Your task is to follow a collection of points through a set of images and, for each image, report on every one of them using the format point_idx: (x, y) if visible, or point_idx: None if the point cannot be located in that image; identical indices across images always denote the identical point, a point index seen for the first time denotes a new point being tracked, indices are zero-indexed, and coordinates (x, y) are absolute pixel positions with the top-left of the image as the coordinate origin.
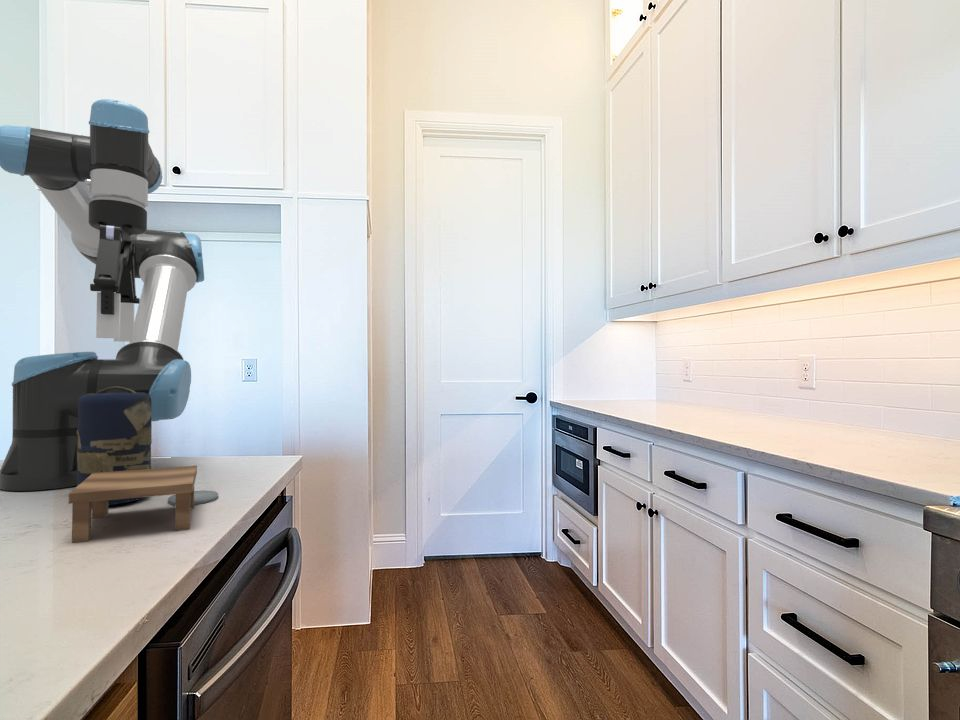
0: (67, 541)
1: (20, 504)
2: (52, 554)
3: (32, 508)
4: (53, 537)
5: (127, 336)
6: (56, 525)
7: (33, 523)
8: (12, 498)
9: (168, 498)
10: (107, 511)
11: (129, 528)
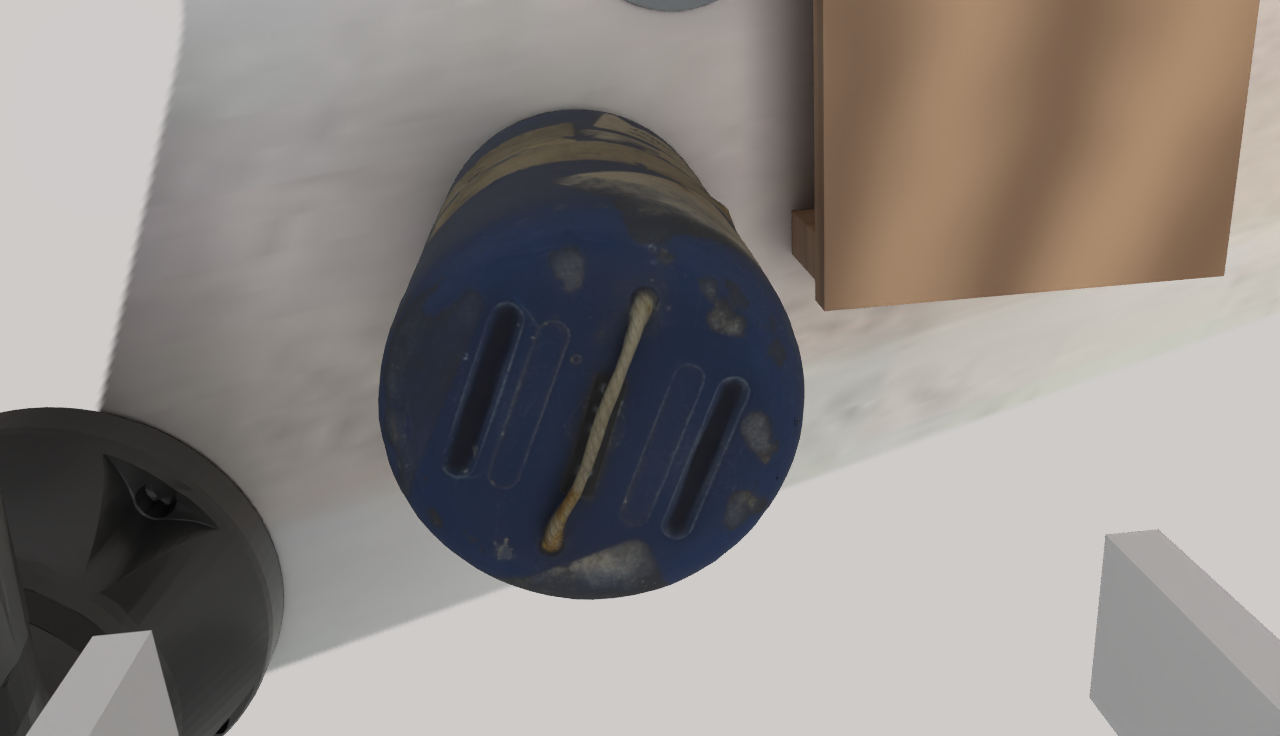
0: None
1: None
2: None
3: None
4: (1027, 299)
5: (141, 723)
6: (878, 337)
7: (818, 415)
8: (391, 617)
9: (685, 8)
10: (806, 212)
11: None
